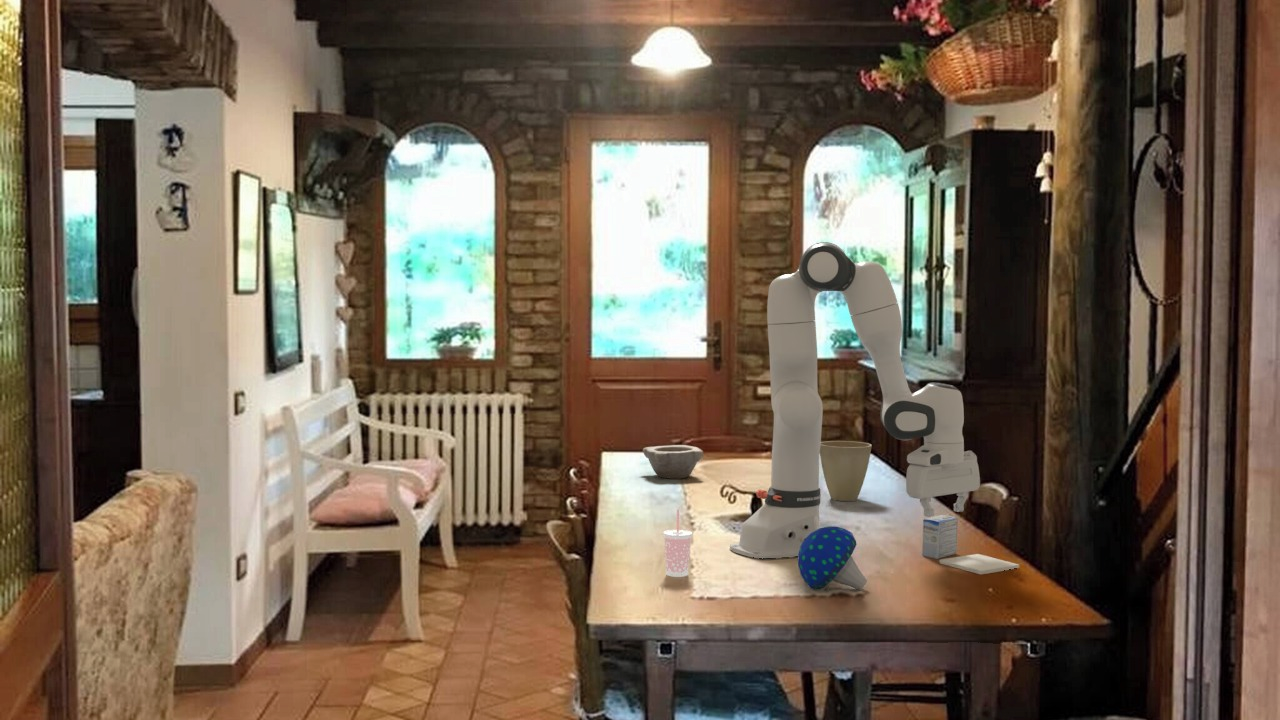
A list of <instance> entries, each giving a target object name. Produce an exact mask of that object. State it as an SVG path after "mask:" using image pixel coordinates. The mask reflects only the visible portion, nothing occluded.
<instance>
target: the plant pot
mask: <svg viewBox="0 0 1280 720" xmlns="http://www.w3.org/2000/svg"><path fill="white" fill-rule="evenodd" d="M871 451H872V444H871V443H868V442H864V441H863V442H862V441H850V440H848V441H847V440H830V441H821V444H820V455H819V459H820V462H821V464H820V465H821V467H822V472H823V477H824V482H825V484H826V488H827V490H828V494H829V497H830V500H833V501H837V500H838V502H839V501H840V502H855V501H857V500H858V498H859V495H860V493H861V490H862V488H863V485H864V482H865V478H866V474H867V471H868V468H869V463H870V458H871Z"/></svg>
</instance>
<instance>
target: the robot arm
mask: <svg viewBox="0 0 1280 720" xmlns="http://www.w3.org/2000/svg"><path fill="white" fill-rule="evenodd" d="M798 265H799V266H798V268H797V270H796V271H795V272H793V273H787V274H782V275H779V276H777V277H775V279H773V280H772V281H771V283H770V284H769V288H768V293H767V294H768V296H767V305H766V306H767V308H766V309H767V310H766V314H767V315H766V317H767V318H766V319H767V320H766V321H767V322H766V323H767V335H768V349H769V350H768V353H769V378H770V381H769V382H770V399H771V400H770V401H771V409H772V411H773V431H772V433H773V434H772V446H771V448H772V449H771V472H770V473H771V478H770V479H771V481H770V482H771V485H770V486H769V488H768V491H766V490H763V489H758V490H757V491H756V493H755V494H756V497H757V498H759V499H762V500H764V504H763V505H761V506H760V508H758V509H757V510H756V511H755V512H754V513H753V514H752V515H751V516H750V517H749V518H747V519H746V520H745V521H744V522H743V524H742V526H741V530H740V535H739V542H733V543H730V544H729V545H730V546H729V550H731V551H732V552H734V553H736V554H738V555H742V556H745V557H749V558H753V557H754V559H759V558H762V559H761V560H764V559H763V558H776V559H781V558H780V557H789V558H794V557H793V556H798V553H799V550H800V546H801V545H802V543H803V542H804V540H805V539H806V538H807V536H808V535H809V534H811V533H812V532H814V531H816V530H818V529H820V528H821V522H820V504H821V488H820V485H819V484H820V444H821V442H822V429H823V426H822V425H823V414H824V413H823V412H824V410H823V409H824V405H823V401H822V398H821V396H820V395H819V391H818V345H817V344H818V343H817V342H818V341H817V340H818V339H817V327H816V312H815V308H816V307H815V306H816V305H815V302H816V300H817V299H816V298H817V296H818V295H819V293H821V292H839V293H841V295H842V296H843V297H844V299H845V301H846V305H847V308H848V312H849V316H850V320H851V322H852V326H853V328H854V330H855V333H856V336H857V337H858V339H859V341H860V342H861V345H862V346H863V347H864V348H865V350H866V351H867V352H868V354H869V356H870V357H871V359H872V361H873V364H874V367H875V371H876V375H877V379H878V382H879V383H878V384H879V386H880V388H881V395H882V401H881V405H880V407H881V408H880V421H881V423H882V425H883V426H884V428H885V430H886V431H887V433H889V435H890V436H892V437H893V438H894V439H897V440H899V441H900V440H901V441H910V440H915V439H919V438H923V445H921V446H920V447H918V448H917V449H915V450H913V451H911V452H909V453H908V454H907V456H906V461H907V463H908V464H909V466H908V467H907V469H906V479H905V485H906V486H905V489H906V494H907V495H908V497H909V498H913V499H917V500H919V502H920V504H921V506H922V508H923V516H924V517H927V518H930V517H934V516H935V513H934V512H935V509H934V507H933V508H932V507H931V504H930V503H931V502H932V500H931V499H932V498H933V497H935V498H936V497H939V496H940V497H941V496H947V495H953V494H956V496H958V497H957V498H956V501H955V503H953V511H954V512H957V513H960V512H964V511H965V510H964V508H965V506H964V505H965V503H966V500H967V498H968V493H969V492H974V491H978V490H979V488H980V485H981V477H980V469H979V464H978V456H977V455H976V453H974V452H973V450H967V451H965V444H964V443H965V442H964V441H965V440H964V435H963V427H964V422H965V420H964V419H965V416H964V415H965V414H964V413H965V412H964V401H963V394H962V392H961V391H960V390H959V389H958V388H957V387H956V386H954V385H951V384H947V383H943V382H928V383H927V384H926V385H925V386H923V387H922V388H920V389H919V390H917V391H915V392H912V390H911V388H910V387H909V384H908V381H907V377H906V374H905V369H904V365H903V362H902V357H901V340H902V335H903V324H902V316H901V310H900V306H899V302H898V300H897V296H896V293H895V290H894V287H893V284H892V283H891V281H890V278H889V276H888V273H887V272H886V270H885V269H884V267H883V265H882V264H880V263H878V262H875V261H870V260H867V261H861V262H854V261H852V260H851V259H850V258H849V257H848V256H847V254H846V253H845V251H844V250H843V249H842V248H841V247H840V246H838V245H836V244H834V243H832V242H824V241H820V242H816V243H815V244H813V245H810V246H809V247H808V248H806V250H805V251H804V253H803V254H802V255H801V258H800V261H799V264H798Z"/></svg>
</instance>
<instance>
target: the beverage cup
mask: <svg viewBox="0 0 1280 720" xmlns="http://www.w3.org/2000/svg"><path fill="white" fill-rule="evenodd" d="M663 537H664V551H665V574H666V576H668V577H674V578H682V577H683V578H684V577H687V576H688V575H689V566H690V565H689V564H690V553H691V540H692V537H693V532H692V531H690V530H686V529H680V509H679V508H677V509H676V529H668V530H664V531H663Z"/></svg>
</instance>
